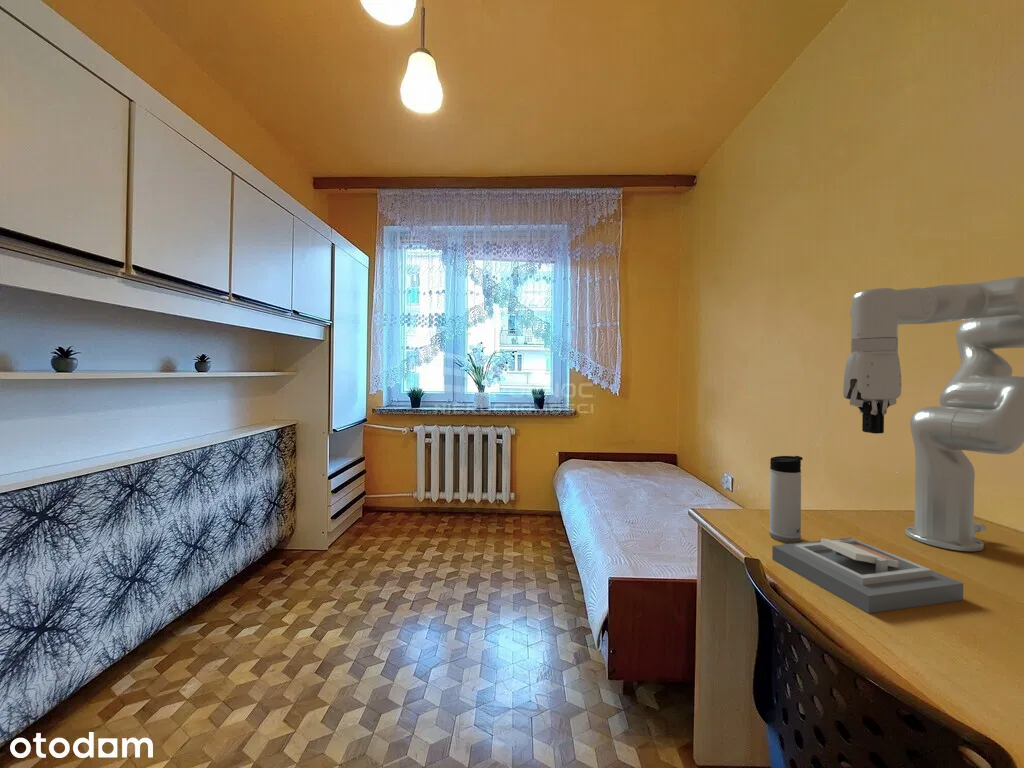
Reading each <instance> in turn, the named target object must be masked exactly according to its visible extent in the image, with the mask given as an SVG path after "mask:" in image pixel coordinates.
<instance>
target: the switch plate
mask: <svg viewBox="0 0 1024 768" xmlns="http://www.w3.org/2000/svg"><path fill="white" fill-rule="evenodd" d="M831 540H833V541H838V542H843V543H849V544H854V545H859V546H863V547H866V548H868V549H871V550H873V551H875V552H878V553H880V554H883V555H885V556H888V557H890V558H892V559H895V560H897V561H899V564H898V568H897V567H891V566H888V560H887V559H884V558H879V559H876V564H875V563H870V562H864V561H859V560H854V559H852V558H850V557H848V556H845V555H843V554H841V553H839V552H837V551H834V550H832V549H830V548H828V547H825V546H823V545H821V544H820V542H821V540H814V541H804V542H797V543H787V544H786V543H785V544H778V545H777V544H776V545H772V557H771V558H772V560H773V561H774V560H775V561H774V562H776V561H777V563H778V564H780V565H781V566H783V567H785V568H787V569H789V570H790V571H792V572H794V573H795V574H798V575H800V576H801V577H803V578H805V580H808V581H810V582H811V583H813V584H815V585H817V586H819V587H820V588H823V589H824V590H826V591H828V592H830V593H832V594H833V595H835V596H836V597H839V598H840V599H842V600H844V601H846V602H847V603H848V604H851V605H853V606H855V607H856V608H858V609H860V610H861V611H863V612H865V613H867V614H873V613H874V614H875V613H882V612H888V611H889V612H890V611H896V610H903V609H910V608H917V607H923V606H929V605H936V604H937V605H938V604H939V605H940V604H944V603H951V602H952V603H953V602H960V601H964V583H963V582H961V581H959V580H956V579H954V578H952V577H950V576H946V575H944V574H942V573H940V572H936V571H934V570H932V569H931V568H928V567H925V566H923V565H921V564H918V563H915V562H913V561H911V560H909V559H906V558H904V557H901V556H900V555H899V556H898V555H896V554H893V553H891V552H889V551H887V550H883V549H881V548H878V547H876V546H874V545H871V544H868V543H866V542H863V541H861V540H859V539H856V538H852V537H844V538H843V537H842V538H833V539H831Z"/></svg>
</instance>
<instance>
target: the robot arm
mask: <svg viewBox="0 0 1024 768" xmlns="http://www.w3.org/2000/svg"><path fill="white" fill-rule="evenodd" d="M849 311H850V312H849V315H850V320H851V322H850V323H851V324H850V326H851V327H850V329H851V330H850V333H851V334H850V337H851V341H850V345H851V346H850V354H848V356H847V358H846V363H845V368H844V374H843V387H842V389H843V391H842V393H843V394H842V395H843V397H844V398H845V399H846V400H850V401H849V405H850V406H853V407H857V408H858V409H859V413H860V414H862V417H861V418H862V419H861V420H862V422H861V423H862V424H861V425H862V426H861V427H862V428H861V431H862V432H863V433H869V434H884V433H885V415H887V413H888V409H889V407H891V406H894V405H897V399H899V398H900V397H901V394H902V370H901V362H900V358H899V346H898V345H899V325H927V324H939V323H949V322H958V321H962V322H961V323H959V325H958V327H957V329H956V332H955V339H956V345H957V349H958V353H959V358H960V365H959V367H958V368H957V370H956V371H955V373H954V374H953V375H952V376H951V378H950V379H949V381H948V382H947V383H946V384H945V386H944V388H943V390H942V391H941V393H940V395H939V399H938V401H939V403H940V406H937V405H936V406H927V407H922V408H919V409H918V410H916V411H915V412H914V413H913V414H912V416H911V417H910V421H909V426H910V433H911V436H912V442H913V445H914V446H913V447H914V456H915V471H914V474H915V475H914V485H915V486H914V525H910V526H907V527H906V528H905V534H906V535H907V536H908V537H909V538H911V539H913V540H915V541H917V542H919V543H923V544H925V545H926V544H927V545H930V546H934V547H936V548H937V547H938V548H942V549H947V550H952V551H958V552H979V551H982V550H984V548H985V547H984V545H985V544H984V542H983V541H982V540H980V539H978V538H976V537H975V534H977V533H980V532H981V533H982V532H986V530H987V528H986V525H984V524H983V523H981V522H975V521H974V519H975V518H974V517H975V516H974V515H975V512H974V511H975V478H976V476H975V473H976V472H975V468H974V465H973V463H972V462H971V460H970V459H969V458H968V456H967V455H966V454H965V453H964V452H963V451H968V452H974V453H976V452H977V453H982V454H983V453H984V454H990V455H991V454H993V455H1010V454H1012V453H1014V452H1016V451H1018V450H1019V449H1020V448H1021V447H1022V445H1023V444H1024V376H1019V375H1016V376H1015V375H1014V376H1013V375H1012V374H1013V368H1012V366H1011V364H1010V363H1009V362H1008V361H1007V360H1006V359H1005V358H1004V357H1002V356H1001V355H999V354H998V353H996V352H995V351H994V350H997V349H1023V348H1024V276H1023V275H1022V276H1013V277H1007V278H1000V279H994V280H987V281H981V282H980V281H978V282H970V283H960V284H957V283H955V284H942V285H941V284H940V285H935V286H928V287H927V286H926V287H911V288H903V289H901V288H900V289H894V288H889V287H882V288H881V287H880V288H869V289H865V290H860V291H858V292H855V293H854V294H853V295H852V297H851V307H850V310H849ZM974 522H975V523H974Z"/></svg>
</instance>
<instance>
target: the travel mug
mask: <svg viewBox="0 0 1024 768" xmlns="http://www.w3.org/2000/svg"><path fill="white" fill-rule="evenodd" d="M769 460H770V461H769V464H770V465H769V536H770V537H771V538H772V537H773V538H772V539H774V540H776V541H780V542H783V543H787V544H794V543H800V541H801V539H802V538H801V537H802V535H801V533H802V531H801V529H802V528H801V527H802V522H801V521H802V520H801V519H802V516H801V515H802V469H801V467H802V463H801V462H802V461H803V457H802V456H799V455H778V456H773V457H771V458H770V459H769Z"/></svg>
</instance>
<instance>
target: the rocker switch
mask: <svg viewBox="0 0 1024 768" xmlns="http://www.w3.org/2000/svg"><path fill="white" fill-rule="evenodd" d="M820 541H821V542H820V544H821V545H823V546H825V547H828V548H830V549H832V550H834V551H837V552H839V553H841V554H843V555H845V556H848V557H850V558H852V559H854V560H859V561H864V562H870V563H875V564H876V559H879V558H884V559H887V560H888V566H891V567H897V568H898V564H899V561H897V560H895V559H892V558H890V557H888V556H885V555H883V554H880V553H878V552H875V551H873V550H871V549H868V548H866V547H863V546H859V545H854V544H849V543H843V542H838V541H833V540H832V539H828V538H821V539H820Z"/></svg>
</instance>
